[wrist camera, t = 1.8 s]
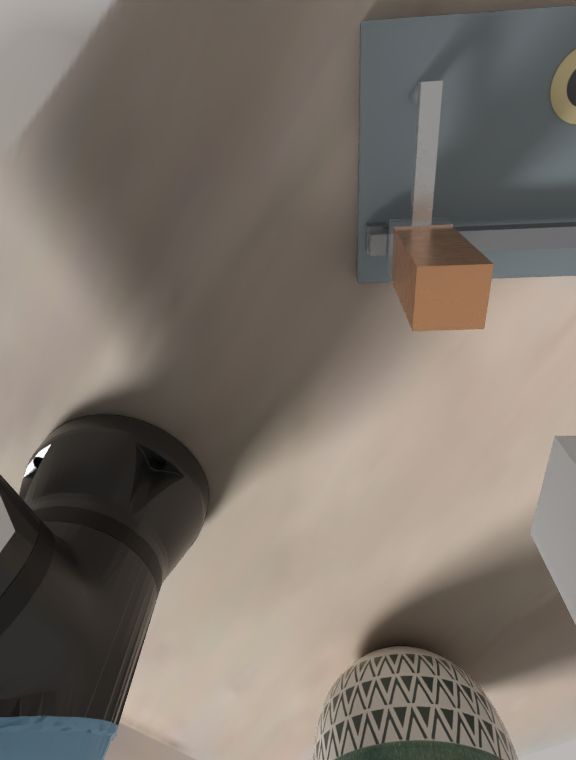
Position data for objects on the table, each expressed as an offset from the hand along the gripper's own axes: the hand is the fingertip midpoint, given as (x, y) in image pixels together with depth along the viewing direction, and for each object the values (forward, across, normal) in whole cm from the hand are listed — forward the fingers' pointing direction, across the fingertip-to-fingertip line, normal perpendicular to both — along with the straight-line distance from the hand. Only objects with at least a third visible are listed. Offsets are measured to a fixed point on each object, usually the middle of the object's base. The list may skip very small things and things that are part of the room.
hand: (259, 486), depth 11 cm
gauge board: (+24, +19, +4) cm, 31 cm away
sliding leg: (+23, +7, +3) cm, 24 cm away
